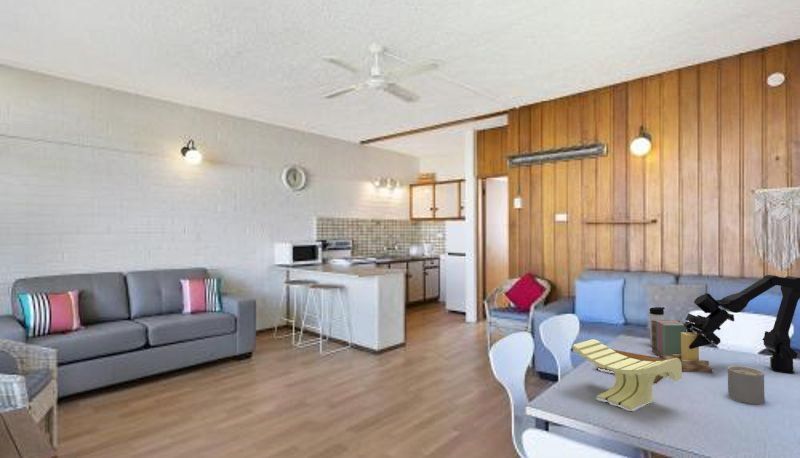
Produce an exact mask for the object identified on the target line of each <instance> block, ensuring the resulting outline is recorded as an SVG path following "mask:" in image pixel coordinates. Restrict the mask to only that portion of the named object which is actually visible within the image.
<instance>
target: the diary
mask: <svg viewBox="0 0 800 458" xmlns="http://www.w3.org/2000/svg"><path fill="white" fill-rule="evenodd" d="M613 350H614V351H616V353H619V354H621V355H624V356H627V357H628V358H633V359H637V360H641V361H653V362H656V361H664V360H668V359H663V358H660V357H658V356H657V357H655V356H652V355H651V356H650V355H645V354H640V353H633V352H629V351H622V350H617V349H613ZM597 368H600V369H605V370H608V369H607V368H601V367H598V366H597ZM609 371H612V370H609ZM663 378H664V377H663V376H660V375H657V376H656V377H655V379H654V382H653V384H658V383H659V382H660V381H661V380H662V379H663ZM658 381H659V382H658ZM657 382H658V383H657Z"/></svg>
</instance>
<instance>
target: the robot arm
mask: <svg viewBox="0 0 800 458" xmlns="http://www.w3.org/2000/svg"><path fill="white" fill-rule="evenodd" d="M775 286H780V292H781V294H782V295H781V296H782V297H781V301H780V304H779V307H778V312H777V313H776V317H775V321H774V325H773V328H772V329H771V330H770V331H767V330H766V331H765V332H764V336H763V338H762V341H763V345H764V347H765V348H766V349H767V351H768V353H770V354H771V356H770V357H769V367H770V368H771V369H772V370H773V372H778V373H779V372H780V373H786V374H795V371H794V360H795V359H797V357H798V355H799V354H798V352H796V350H794V349H793V348H792V347H791V342H792V341H791V338H790V334H789V332H790V329H791V325H792V322H793V319H794V316H795V312H796V310H797V309H796V308H797V306H798V302H799V300H800V277H797V276H792V275H787V276H785V277H782V276H778V275H773V274H767V275H764V276H763V277H762V278H761V279H759V280H757V281H756V282H754V283H752V284H751V285H749V286H748V287H746V288H744V289H743V290H741V291H740V292H737V293H732V294H729V295H727V296H724V297H722V298H721V299H717V300H716V299H715V298H714V297H713V296H712V295H711V294H710V293H708V292H706V293H704V294H701V295H700V296H698V297H696V298H695V299H694V301H693V303H694V304H695V305H696V306H697V307H698V308H699V309H700V310H701V311H703V312H704V314H708V315H706V316H702V315H700V314H698V315H694V314H691V313H690V312H688V313H687V315H686V317H685V323H682V324H683V325H684V326H685V327H686V332H692V333H694V334H696V335H697V337H696V339H695V340H694V341H693V342H692V343H691V344H690V346H689V348H690V349H693V348H696V347H703V346H708V345H712V344H713V345H716V346H718V345H719V344H720V343H721V338H720V337H719V336H717V334H715V332H716V331H717V330H718V331H720V330H721V326H722V325H723V324H725V323H726V322H727V321H731V322H735V315H734V314H732V313H735V314H736V313H737V314H739V313H741V312H742V311H743V310H744V309H746V307H748V305H749V302H751V301H752V300H754V299H755V298H757V297H758V296H760V295H762V294H764V293H765V292H767V291H769V290H770V289H772V288H774V287H775ZM721 308H722V309H721ZM729 312H730V313H729Z"/></svg>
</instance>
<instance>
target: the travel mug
mask: <svg viewBox="0 0 800 458" xmlns="http://www.w3.org/2000/svg"><path fill="white" fill-rule="evenodd" d="M651 320H665V307H661V306H659V307H658V306H657V307H656V306H654V307H650V308H649V340H650V341H649V345H650V347H651V348H652V328H651Z"/></svg>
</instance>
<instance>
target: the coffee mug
mask: <svg viewBox="0 0 800 458" xmlns="http://www.w3.org/2000/svg"><path fill="white" fill-rule="evenodd" d="M727 393H728V394H727V396H728V398H730V399H732V400H734V401H736V402H740V403H742V404H749V405H763V404H765V399H766V398H765V373H764V371H763V370H761V369H758V368H755V367H751V366H745V365H729V366H728V367H727Z"/></svg>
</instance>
